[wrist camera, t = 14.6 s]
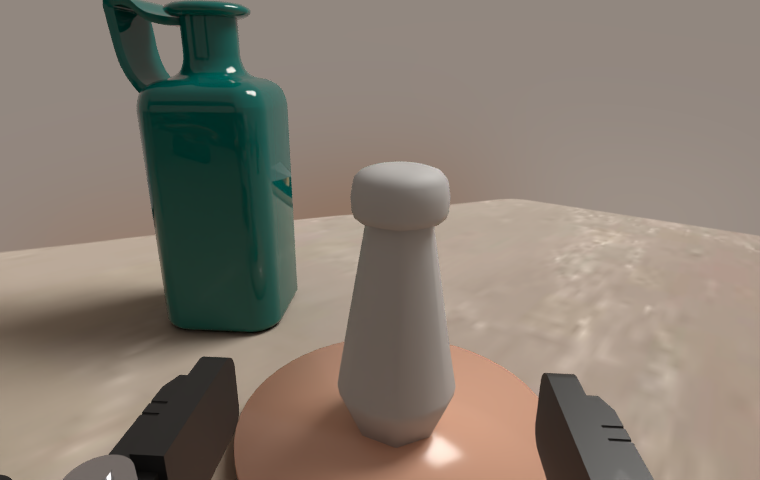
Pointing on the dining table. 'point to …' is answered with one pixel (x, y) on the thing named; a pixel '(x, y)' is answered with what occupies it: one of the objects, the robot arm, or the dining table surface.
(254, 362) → the dining table surface
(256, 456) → the terracotta pad
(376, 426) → the salt shaker
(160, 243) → the pitcher
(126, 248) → the dining table surface
